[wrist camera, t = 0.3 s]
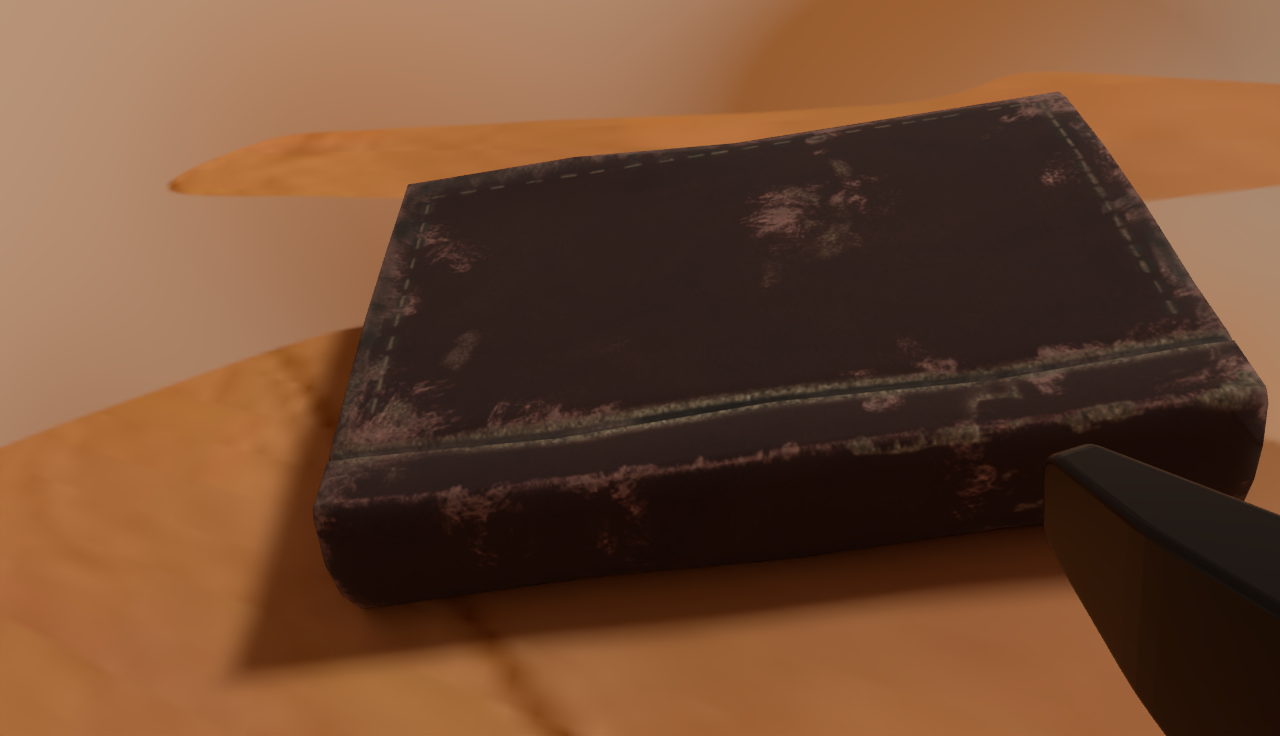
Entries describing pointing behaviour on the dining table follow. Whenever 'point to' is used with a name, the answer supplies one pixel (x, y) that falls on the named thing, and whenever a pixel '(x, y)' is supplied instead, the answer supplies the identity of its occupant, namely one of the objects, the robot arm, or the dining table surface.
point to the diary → (766, 354)
